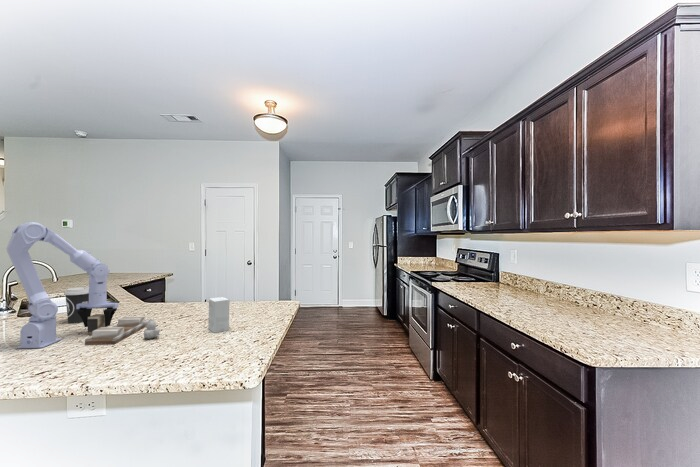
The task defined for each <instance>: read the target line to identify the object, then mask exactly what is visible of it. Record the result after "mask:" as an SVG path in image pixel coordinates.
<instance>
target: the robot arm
mask: <svg viewBox="0 0 700 467" xmlns="http://www.w3.org/2000/svg"><path fill="white" fill-rule="evenodd" d="M38 241H40V242H44V243H49V244H51V245H52V246H54V247H55V248H57V249H58V250H60V251H62V252H63V253H65V254H67V256H69V261H70V262H71V263H73V265H75V266H77V267H78V268H80V269H81V270H83V271H84V272H86V274H87V275H88V276H89V279H88V287H89V303H80V304H77V305H76V309H80V310H79V311H77V313H78V314H79V315H80V317H81V318H82V321H83V322H82V323H83V327H84V328H88V317H90V316H92V311H93V309H94V310H95V309H103V311H102V312H103V314H104V316H105V327H111V324H112V319H113V317H114V315H115V313H116V312H117V310H118V309H119V302H108V301H107V300H108V299H107V298H108V296H107V294H108V293H107V292H108V291H107V290H108V289H107V288H108V285H107V284H108V280H107V279H108V277H107V276H109V275H110V269H109V267H108V265H106V264H105V263H101V260H100V259H98V258H97V259H96V258H95V257H94V256H93V255H91V252H90V251H89V250H85V249H77V248H75V247H74V246H73V245H72V244H71V243H69V242H68V241H66V240H65V238H63V237H61V236H60V235H59V234H58V233H56V232H55V231H54V230H52V229H50V228H49V227H45V226H44V224H42V223H39V222H35V221H34V222H23V223H21V224H19V225H18V226H17V227H16V228H15V229H14V230H12V233H11V236H10V239H9V241H8V244H7V246H6V253H7V255H8V257H9V259H10V261H11V263H12V265H13V268H14V270H15V272H16V274H17V277H18V278H19V280H20V283H21V285H22V287H23V290H24V292H25V294H26V296H27V301H28V309H27V310H28V312H29V313H30V314H31V316H30V317H29V318H28V321H27V323H26V324H23V326H22V327H21V329H20V334H19V335H20V337H19V338H20V342H19V346H17V349H41V348H45V347H47V346H49V345H52V344H54V343H56V342H57V343H58V342H59V341H61V340H63V338H62V337H57V313H58V311H59V307H58V305H57V304H56V303H54V302H53V301H52V300H51V298H50V296H49V294H48V293H47V291H46V290H45V288H44V285H43V283H42V280H41V278H40V276H39V274H38V271H37V269H36V266H35V264H34V262H33V260H32V258H31V256H30V253H29V250H31V248H32V246H34V244H35V243H36V242H38Z"/></svg>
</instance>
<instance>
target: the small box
mask: <svg viewBox="0 0 700 467" xmlns="http://www.w3.org/2000/svg"><path fill="white" fill-rule="evenodd" d="M207 322H208V324H207V325H208V326H207V329H209V330H210V332H212V333H222V332H227V331H230V299H228V298H226V297H224V296H221V297H218V296H217V297H211V298H208V321H207Z"/></svg>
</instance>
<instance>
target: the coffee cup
mask: <svg viewBox="0 0 700 467" xmlns="http://www.w3.org/2000/svg"><path fill="white" fill-rule="evenodd" d="M63 295H64V296H65V302H66V304H65V306H66V314H67V323H68V324H80V323H83V321H82V318H81V317H80V315H79V314H78V313H77V311H79V310H80V309H76V305H77V304H80V303H89V286H81V287H80V286H79V287H70V288H69V287H68V288H67V289H66V290H65V291H64V294H63Z"/></svg>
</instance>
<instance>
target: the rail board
mask: <svg viewBox="0 0 700 467" xmlns="http://www.w3.org/2000/svg"><path fill="white" fill-rule="evenodd" d="M148 321H150V319H148V320H146V316H144V315H143V316H142V315H141V316H137V315H136V316H123V317H121V318H119V319H118V320H117V324H115V325H112V326H108V327H101V328H99V329H96V330H94V331H92V335H91V336H90V337H87V338H85V339H84V345H85V346H94V345H96V346H98V345H116V344H118V343H120V342H121V341H123V340H125V339H127V338H128V337H130V336H132V335H133V334H136V333H137V332H140V331H141V330H143V329H144V328H146V325H147V323H148Z"/></svg>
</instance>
